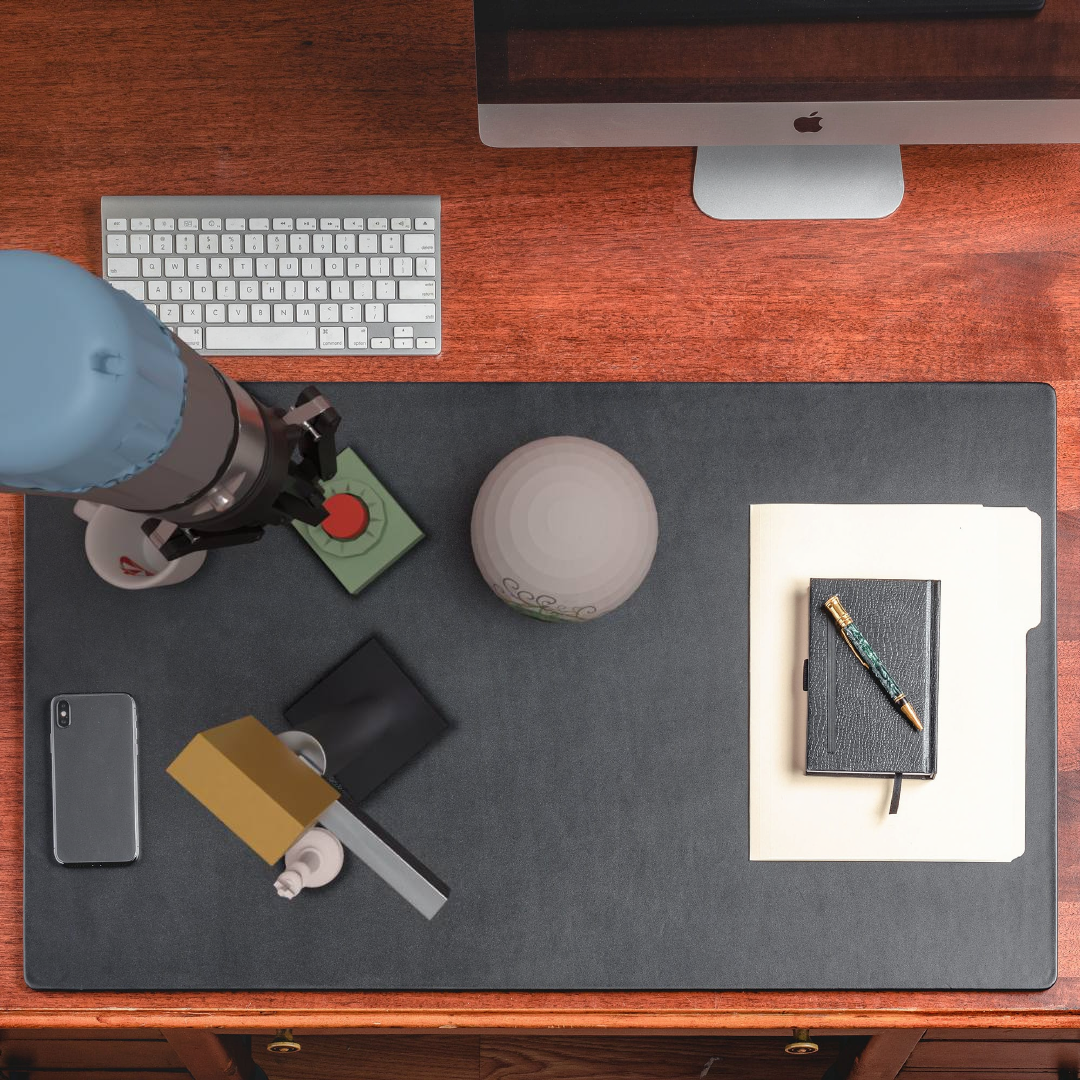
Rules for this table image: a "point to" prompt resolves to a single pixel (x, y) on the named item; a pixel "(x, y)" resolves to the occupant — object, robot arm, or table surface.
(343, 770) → the faucet body
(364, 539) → the button box
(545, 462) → the decorative object
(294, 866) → the chess piece
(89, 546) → the cup
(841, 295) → the table surface
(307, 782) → the tap handle
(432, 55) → the table surface
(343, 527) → the button
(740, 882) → the table surface
